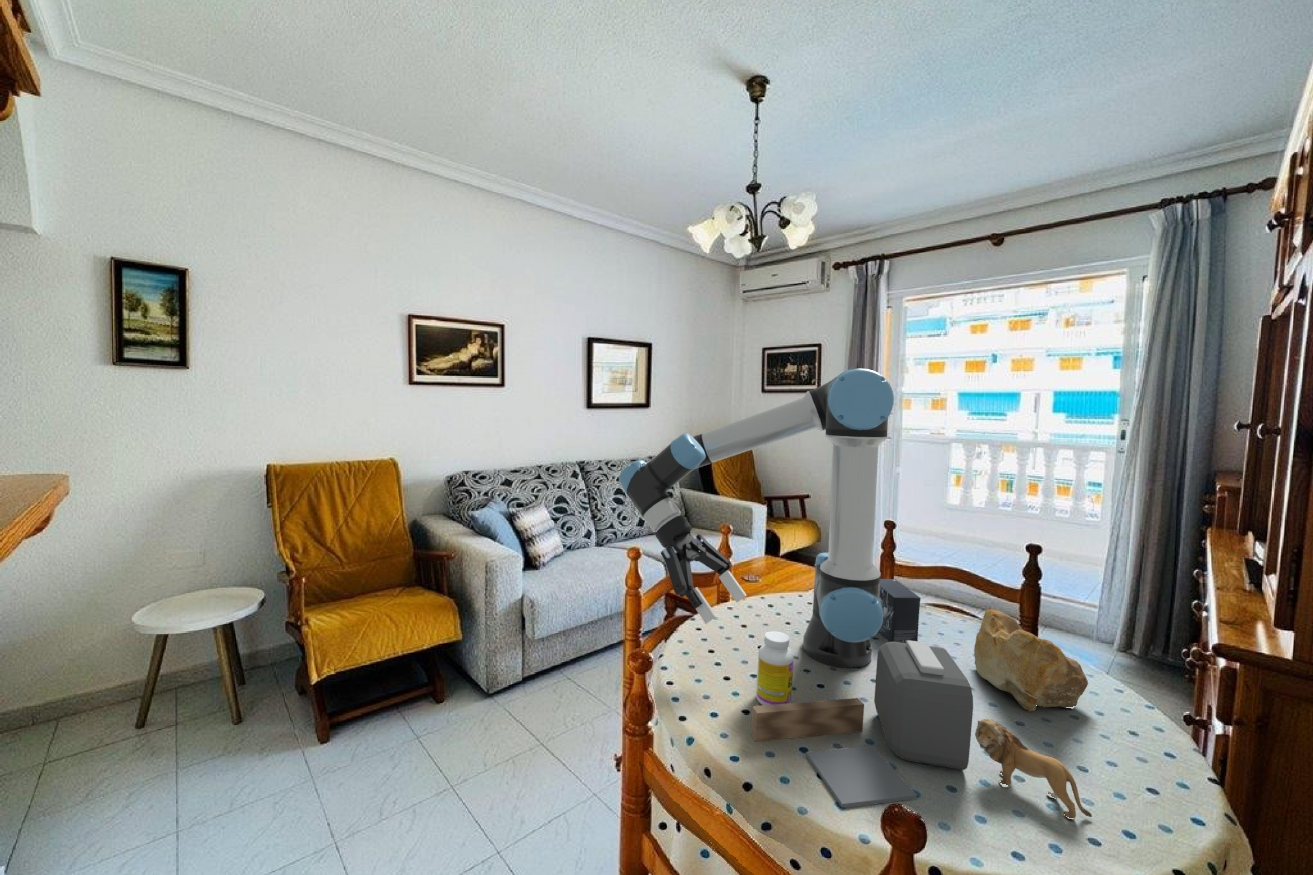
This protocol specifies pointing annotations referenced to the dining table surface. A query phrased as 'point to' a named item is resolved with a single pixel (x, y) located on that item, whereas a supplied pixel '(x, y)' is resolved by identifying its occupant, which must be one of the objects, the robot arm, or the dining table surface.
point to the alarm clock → (924, 704)
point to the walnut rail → (807, 719)
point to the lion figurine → (1026, 762)
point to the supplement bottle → (775, 670)
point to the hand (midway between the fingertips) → (727, 609)
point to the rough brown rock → (1026, 664)
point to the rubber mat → (859, 776)
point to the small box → (899, 611)
